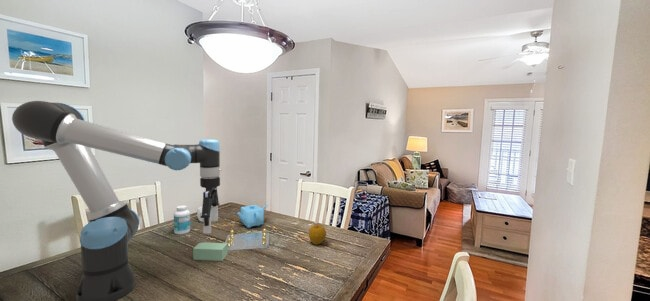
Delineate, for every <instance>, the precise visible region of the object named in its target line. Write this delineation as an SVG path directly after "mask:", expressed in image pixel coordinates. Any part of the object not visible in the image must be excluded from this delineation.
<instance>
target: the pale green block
mask: <svg viewBox="0 0 650 301" xmlns="http://www.w3.org/2000/svg"><path fill="white" fill-rule="evenodd" d="M192 251H193V252H192V259H193V260H192V261H214V262H215V261H221V262H222V261H223V260H224V259H225V258H226V257H227V255H228V253H229V252H228V251H229V250H228V243H225V242H199V243H198V244H197V245H195V247H193V248H192Z"/></svg>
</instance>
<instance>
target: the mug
mask: <svg viewBox="0 0 650 301" xmlns="http://www.w3.org/2000/svg"><path fill="white" fill-rule="evenodd" d="M202 206H203V205H202ZM202 206H201V205H200V206H199V207H197V209H196V210H197V211H196V213H197V214H196V215H197V219H198V221H199V222H203V218H201V216H202ZM205 215H206V214H205ZM210 217H211V213H210Z"/></svg>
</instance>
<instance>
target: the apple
mask: <svg viewBox="0 0 650 301" xmlns="http://www.w3.org/2000/svg"><path fill="white" fill-rule="evenodd" d="M326 237H327V231H326V228H325V226H322V225H320V224H313V225H312V226H310V228H309V230H308V238H309V240H310V241H311V243H312V244H313V245H316V246H318V245H320V244H322V243H323V241H324V240H325V239H326Z"/></svg>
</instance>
